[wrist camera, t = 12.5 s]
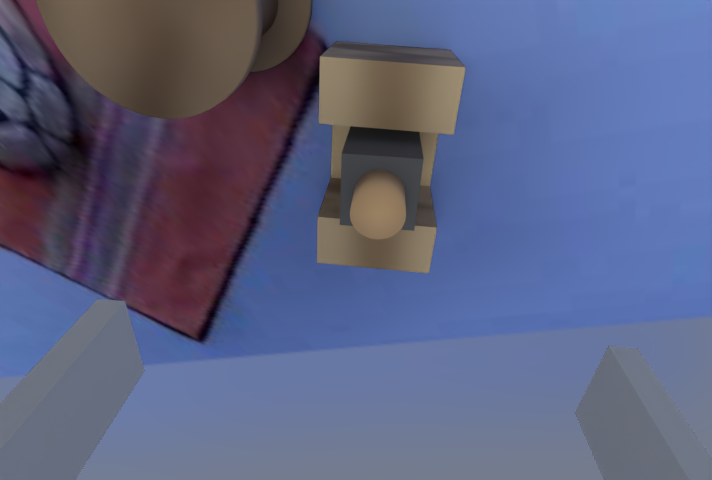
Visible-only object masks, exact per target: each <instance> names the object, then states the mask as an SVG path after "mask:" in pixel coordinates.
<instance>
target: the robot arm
mask: <svg viewBox="0 0 712 480" xmlns="http://www.w3.org/2000/svg"><path fill="white" fill-rule="evenodd" d="M144 371H145V370H144V367H143V363H142V360H141V356H140V353H139V349H138V346H137V342H136V339H135V335H134V331H133V328H132V324H131V321H130V317H129V314H128V310H127V307H126V303H125V301H117V300H106V299H97V300H96V301H95V302H94V303H93V304H92V305H91V306H90V308H89V309H88V310H87V311H86V312H85V313H84V314H83V315H82V316H81V317H80V318H79V319H78V320H77V321H76V323H75V324H74V325H73V326H72V327H71V328H70V329H69V330H68V331H67V332H66V333H65V334H64V335H63V336H62V338H61V339H60V340H59V341H58V342H57V343H56V344H55V345H54V346H53V347H52V348H51V349H50V350H49V351H48V353H47V354H46V355H45V356H44V357H43V358H42V359H41V360H40V361H39V362H38V363H37V364H36V365H35V366H34V368H33V369H32V370H31V371H30V372H29V373H28V374H27V375H26V376H25V377H24V378H23V379H22V380H21V382H20V383H19V384H18V385H17V386H16V387H15V388H14V389H13V390H12V391H11V392H10V393H9V394H8V395H7V397H6V398H5V399H4V400H3V401H2V402H1V403H0V480H76V478H77V476H78V475H79V473H80V472H81V470H82V469H83V467H84V465H85V464H86V462H87V461H88V459H89V458H90V456H91V454H92V453H93V451H94V450H95V448H96V447H97V445H98V443H99V442H100V440H101V439H102V437H103V436H104V434H105V433H106V431H107V429H108V428H109V426H110V425H111V423H112V421H113V420H114V418H115V417H116V415H117V414H118V412H119V410H120V409H121V407H122V406H123V404H124V403H125V401H126V399H127V398H128V396H129V395H130V393H131V392H132V390H133V389H134V387H135V385H136V384H137V382H138V381H139V379H140V377H141V376H142V374H143V373H144ZM575 414H576V416H577V418H578V421H579V423H580V426H581V428H582V430H583V433H584V435H585V437H586V439H587V442H588V444H589V447H590V449H591V451H592V453H593V456H594V458H595V460H596V463H597V465H598V467H599V470H600V472H601V474H602V476H603V479H604V480H712V458H711V456H710V454H709V453H708V452H707V450H706V448H705V447H704V446H703V444H702V443H701V441H700V440H699V438H698V437H697V435H696V434H695V432H694V431H693V429H692V428H691V427H690V425H689V423H688V422H687V421H686V419H685V417H684V416H683V415H682V413H681V412H680V410H679V409H678V407H677V406H676V404H675V403H674V401H673V400H672V398H671V397H670V395H669V394H668V392H667V391H666V390H665V388H664V387H663V385H662V384H661V382H660V381H659V379H658V378H657V376H656V375H655V373H654V372H653V370H652V369H651V367H650V366H649V364H648V363H647V361H646V360H645V359H644V357H643V356H642V354H641V353H640V351H639V350H638V349H637V348H627V347H615V346H608V348H607V350H606V352H605V354H604V356H603V358H602V360H601V362H600V364H599V366H598V368H597V370H596V372H595V374H594V376H593V378H592V380H591V382H590V384H589V386H588V388H587V390H586V392H585V394H584V396H583V398H582V400H581V402H580V404H579V406H578V408H577V410H576V412H575Z"/></svg>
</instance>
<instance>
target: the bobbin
mask: <svg viewBox="0 0 712 480" xmlns="http://www.w3.org/2000/svg"><path fill="white" fill-rule="evenodd" d="M36 2H37V5H38V8H39V11H40V14H41V16H42V19H43V21H44V23H45V25H46V27H47V30H48V32H49V33H50V35H51V37H52V39H53V40H54V42H55V44H56V46H57V47H58V48H59V50H60V51H61V53H62V54H63V56H64V57H65V59H66V60H67V61H68V62H69V63H70V65H71V66H72V67H73V68H74V69H75V71H76V72H77V73H78V74H79V75H80V76H81V77H82V78H83V79H84V80H85V81H86V82H87V83H88V84H90V85H91V86H92V87H93V88H95V89H96V90H97V91H98V92H99V93H101V94H102V95H104V96H105V97H107V98H108V99H110V100H111V101H113V102H115V103H117V104H119V105H120V106H122V107H124V108H126V109H129V110H131V111H134V112H136V113H139V114H143V115H147V116H150V117H157V118H166V119H177V118H185V117H190V116H194V115H197V114H200V113H203V112H205V111H207V110H209V109H211V108H213V107H214V106H216V105H217V104H219V103H220V102H222V101H223V100H225V99H226V98H228V97H229V96H230V95H231V94H233V93H234V92H235V91H236V90H237V89H238V88H239V87H240V85H241V84H242V83H243V82H244V80H245V79H246V77H247V76H248V74H249V72H257V71H263V70H266V69H270V68H272V67H274V66H276V65H278V64H279V63H281V62H282V61H284V60H285V59H287V58H288V57H289V56H290V55H292V54H293V53H294V52H295V50H296V49H297V48H298V47H299V45H300V44H301V42H302V41H303V39H304V37H305V35H306V32H307V30H308V27H309V23H310V19H311V13H312V0H36Z"/></svg>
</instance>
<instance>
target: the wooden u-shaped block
mask: <svg viewBox="0 0 712 480" xmlns="http://www.w3.org/2000/svg"><path fill="white" fill-rule="evenodd" d="M465 69H466V67H465V66H464V65H463V64H462V63H461V61H460V60H459V59H458V58H457V57H456V56H455V54H454V53H453V52H452V51H451V50H445V49H431V48H418V47H404V46H391V45H377V44H364V43H350V42H337V41H336V42H335V43H334V44H333V45H332V46H331V47H330V48H329V49H327V50H326V51H325V52H324V53H323V54H322V55H321V56H320V83H319V124H330V125H333V126H332V159H331V179H330V182H329V185H328V188H327V191H326V194H325V197H324V199H323V202H322V205H321V208H320V211H319V214H318V222H317V263H325V264H335V265H346V266H357V267H367V268H378V269H388V270H399V271H410V272H420V273H429V270H430V264H431V259H432V253H433V247H434V242H435V236H436V231H437V225H436V219H435V213H434V207H433V201H432V195H431V189H430V183H431V177H432V171H433V164H434V158H435V152H436V146H437V139H438V133H440V134H452V135H454V130H455V125H456V119H457V114H458V108H459V102H460V97H461V91H462V86H463V80H464V74H465ZM350 126H354V127H367V128H379V129H391V130H403V131H415V132H419V134H420V140H421V146H422V152H423V159H424V160H423V167H422V175H421V183H420V190H419V198H418V206H417V213H416V221H415V228H414V231H411V230H400V231H399V232H398V233H396V234H395V235H393V236H391V237H389V238H386V239H371V238H368V237H365V236H363V235H362V234H360V233H359V232H358V231H357V230H356V229H355V228H354V226H347V225H340V193H341V157H342V151H343V148H344V145H345V141H346V138H347V135H348V132H349V129H350Z"/></svg>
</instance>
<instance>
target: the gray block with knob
mask: <svg viewBox="0 0 712 480" xmlns="http://www.w3.org/2000/svg"><path fill="white" fill-rule="evenodd" d="M423 160H424V159H423V152H422V146H421V140H420V134H419V132H415V131H403V130H391V129H379V128H367V127H354V126H350V129H349V132H348V135H347V138H346V141H345V145H344V148H343V151H342V157H341V193H340V225H347V226H354V228H355V229H356V230H357V231H358V232H359V233H360V234H362V235H363V236H365V237H368V238H371V239H386V238H389V237H391V236H393V235H395V234H396V233H398V232H399V231H400V230H411V231H414V228H415V221H416V213H417V206H418V198H419V190H420V183H421V175H422V167H423Z"/></svg>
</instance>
